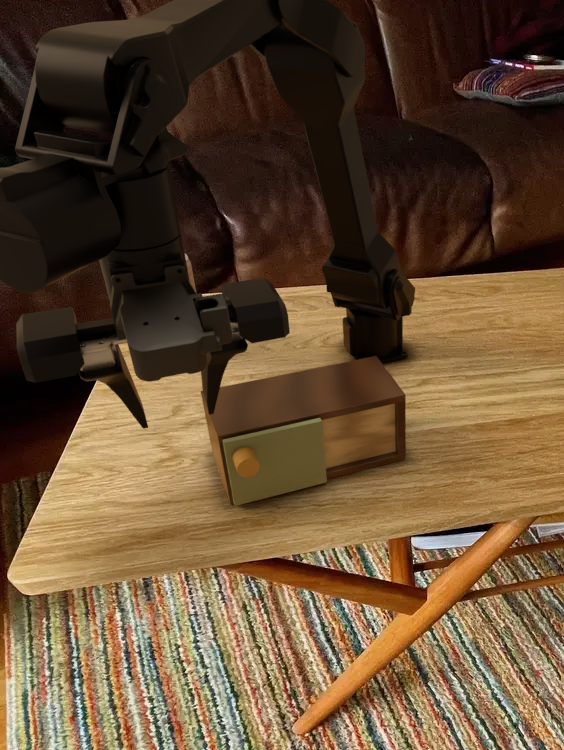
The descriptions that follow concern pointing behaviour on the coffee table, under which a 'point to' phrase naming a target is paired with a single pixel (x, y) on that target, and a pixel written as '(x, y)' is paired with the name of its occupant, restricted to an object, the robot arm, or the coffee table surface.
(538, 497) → the coffee table surface
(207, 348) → the robot arm
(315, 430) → the door
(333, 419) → the sideboard
